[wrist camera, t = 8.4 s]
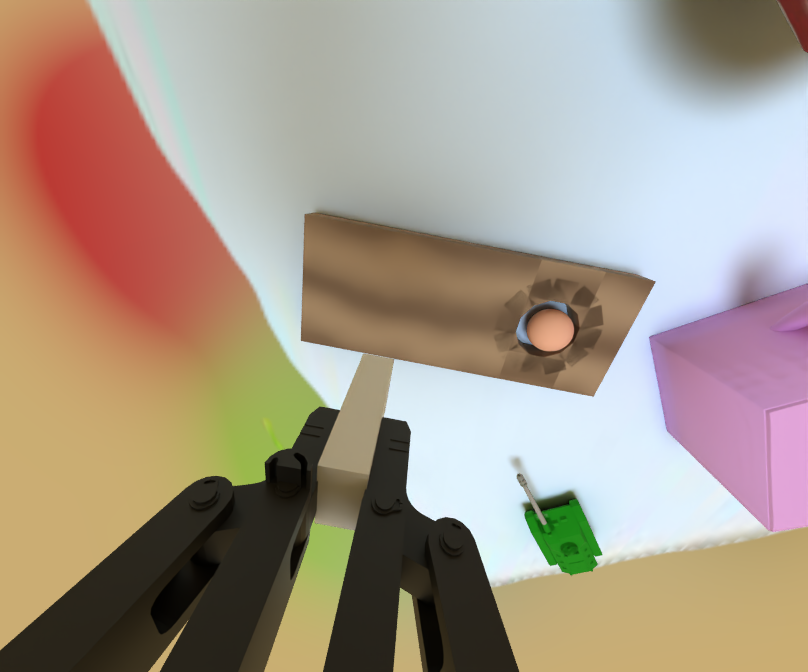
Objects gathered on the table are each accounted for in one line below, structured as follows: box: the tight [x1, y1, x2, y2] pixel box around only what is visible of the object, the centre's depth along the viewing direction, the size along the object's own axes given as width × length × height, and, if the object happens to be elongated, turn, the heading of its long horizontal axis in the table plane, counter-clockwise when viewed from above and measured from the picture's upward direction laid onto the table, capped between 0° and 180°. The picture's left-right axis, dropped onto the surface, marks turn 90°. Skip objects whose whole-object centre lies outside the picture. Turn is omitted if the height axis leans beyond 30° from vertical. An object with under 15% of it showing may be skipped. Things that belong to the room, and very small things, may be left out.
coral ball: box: [527, 309, 574, 351], centre depth 28 cm, size 4×4×4 cm
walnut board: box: [301, 213, 655, 396], centre depth 29 cm, size 12×30×2 cm, turn 80°
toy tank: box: [517, 474, 602, 575], centre depth 38 cm, size 7×19×5 cm, turn 28°
